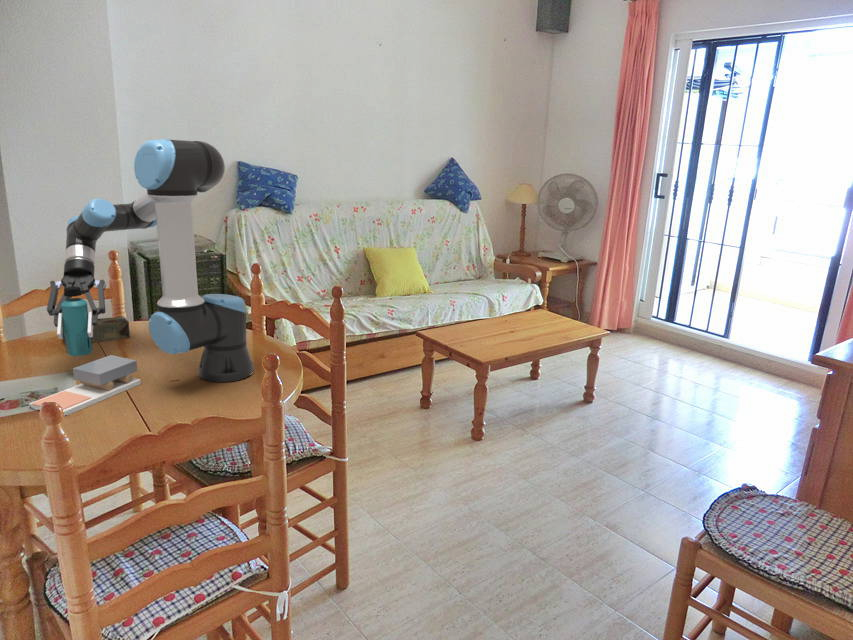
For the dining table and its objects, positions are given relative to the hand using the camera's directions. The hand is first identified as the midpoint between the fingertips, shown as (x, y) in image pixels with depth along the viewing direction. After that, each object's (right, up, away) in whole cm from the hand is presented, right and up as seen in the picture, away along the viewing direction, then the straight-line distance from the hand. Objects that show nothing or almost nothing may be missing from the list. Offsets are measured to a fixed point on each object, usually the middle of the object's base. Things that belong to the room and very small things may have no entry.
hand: (75, 335), depth 165 cm
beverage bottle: (-2, -6, +5) cm, 8 cm away
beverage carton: (-14, -2, +37) cm, 39 cm away
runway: (+7, -15, -6) cm, 18 cm away
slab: (+9, -10, -2) cm, 14 cm away
